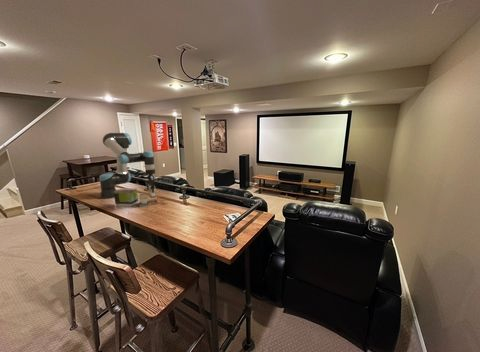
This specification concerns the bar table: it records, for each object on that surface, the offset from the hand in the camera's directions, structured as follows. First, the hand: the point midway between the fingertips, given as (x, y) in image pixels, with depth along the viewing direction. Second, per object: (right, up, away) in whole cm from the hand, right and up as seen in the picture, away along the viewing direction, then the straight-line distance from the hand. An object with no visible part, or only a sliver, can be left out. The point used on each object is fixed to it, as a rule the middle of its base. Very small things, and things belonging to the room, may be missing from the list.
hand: (152, 195), depth 169 cm
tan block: (-6, -8, -2) cm, 11 cm away
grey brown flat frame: (-3, -9, 0) cm, 10 cm away
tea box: (-23, -10, 0) cm, 24 cm away
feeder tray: (-5, -7, +10) cm, 13 cm away
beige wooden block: (0, -2, 0) cm, 2 cm away
